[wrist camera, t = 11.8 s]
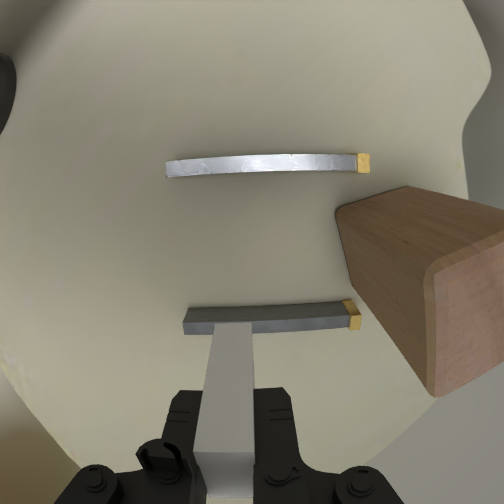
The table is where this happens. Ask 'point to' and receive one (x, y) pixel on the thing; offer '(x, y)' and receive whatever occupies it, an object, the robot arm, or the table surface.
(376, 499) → the robot arm
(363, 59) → the table surface
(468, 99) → the table surface
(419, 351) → the wooden block
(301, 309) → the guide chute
